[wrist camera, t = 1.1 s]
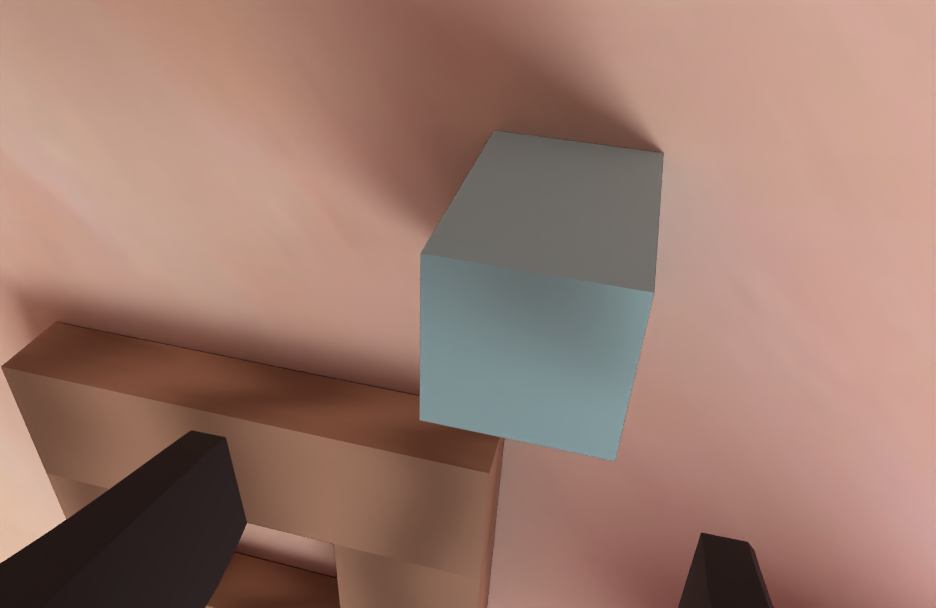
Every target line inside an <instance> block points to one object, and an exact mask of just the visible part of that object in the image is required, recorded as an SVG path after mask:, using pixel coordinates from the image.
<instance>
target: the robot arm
mask: <svg viewBox="0 0 936 608" xmlns="http://www.w3.org/2000/svg"><path fill="white" fill-rule="evenodd" d="M246 524H247V520H246V516H245V512H244V508H243V504H242V500H241V496H240V492H239V488H238V484H237V480H236V476H235V472H234V468H233V464H232V460H231V456H230V452H229V447H228V443H227V439H226V437H223V436H218V435H213V434H208V433H203V432H198V431H193V430H191V431H189V432H188V433H186V434H185V435H184V436H182V437H181V438H179V439H178V440H176V441H175V442H174V443H172V444H171V445H169V446H168V447H167V448H165V449H164V450H162V451H161V452H160V453H158V454H157V455H156V456H154V457H153V458H151V459H150V460H149V461H147V462H146V463H145V464H143V465H142V466H141V467H139V468H138V469H136V470H135V471H134V472H132V473H131V474H130V475H128V476H127V477H125V478H124V479H123V480H121V481H120V482H118V483H117V484H116V485H114V486H113V487H112V488H110V489H109V490H107V491H106V492H105V493H103V494H102V495H100V496H99V497H98V498H96V499H95V500H93V501H92V502H91V503H89V504H88V505H86V506H85V507H83V508H82V509H81V510H79V511H78V512H76V513H75V514H74V515H72V516H71V517H69V518H68V519H66V520H65V521H64V522H62V523H61V524H59V525H58V526H57V527H55V528H54V529H52V530H51V531H49V532H48V533H46V534H45V535H43V536H42V537H40V538H39V539H37V540H35V541H34V542H32V543H31V544H29V545H28V546H26V547H25V548H23V549H22V550H20V551H19V552H17V553H16V554H14V555H13V556H11V557H10V558H8V559H7V560H5V561H3V562H2V563H0V608H205V607H206V605H207V604H208V602H209V600H210V599H211V597H212V595H213V594H214V592H215V590H216V588H217V587H218V585H219V583H220V581H221V579H222V577H223V575H224V573H225V571H226V569H227V566H228V564H229V562H230V560H231V558H232V556H233V554H234V551H235V549H236V547H237V545H238V542H239V540H240V538H241V535H242V533H243V531H244V529H245V526H246ZM678 608H774V607H773V605H772V602H771V599H770V597H769V594H768V591H767V588H766V585H765V582H764V579H763V576H762V573H761V570H760V567H759V564H758V561H757V558H756V555H755V551H754V549H753V548H752V546H751V545H750V544H749V543H748V542H745V541H740V540H735V539H730V538H725V537H720V536H715V535H710V534H705V533H701V535H700V538H699V542H698V545H697V548H696V551H695V555H694V558H693V561H692V564H691V567H690V571H689V574H688V577H687V580H686V584H685V587H684V590H683V593H682V597H681V600H680V603H679V606H678Z"/></svg>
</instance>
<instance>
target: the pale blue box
mask: <svg viewBox="0 0 936 608" xmlns="http://www.w3.org/2000/svg"><path fill="white" fill-rule="evenodd" d="M663 157H664V153H659V152H652V151H644V150H637V149H629V148H622V147H615V146H607V145H600V144H592V143H585V142H577V141H570V140H562V139H555V138H548V137H540V136H533V135H525V134H518V133H510V132H503V131H495V130H494V132H493V133H492V135H491V137H490V138H489V140H488V142H487V143H486V145H485V147H484V148H483V150H482V152H481V153H480V155H479V157H478V158H477V160H476V162H475V163H474V165H473V167H472V168H471V170H470V172H469V173H468V175H467V177H466V178H465V180H464V182H463V183H462V185H461V187H460V188H459V190H458V192H457V193H456V195H455V197H454V198H453V200H452V202H451V203H450V205H449V207H448V208H447V210H446V212H445V213H444V215H443V217H442V218H441V220H440V222H439V223H438V225H437V227H436V228H435V230H434V232H433V233H432V235H431V237H430V238H429V240H428V242H427V243H426V245H425V247H424V248H423V250H422V252H421V278H420V420H422V421H426V422H431V423H436V424H441V425H445V426H450V427H455V428H459V429H464V430H469V431H474V432H478V433H483V434H488V435H493V436H497V437H502V438H507V439H511V440H516V441H521V442H526V443H530V444H535V445H540V446H545V447H549V448H554V449H559V450H563V451H568V452H573V453H578V454H582V455H587V456H592V457H597V458H601V459H606V460H611V461H615V460H616V455H617V451H618V447H619V442H620V438H621V434H622V430H623V425H624V421H625V417H626V412H627V408H628V404H629V399H630V395H631V391H632V386H633V382H634V378H635V374H636V369H637V365H638V361H639V356H640V352H641V348H642V343H643V339H644V335H645V330H646V326H647V322H648V318H649V313H650V309H651V305H652V300H653V296H654V289H655V275H656V260H657V245H658V230H659V216H660V201H661V186H662V171H663Z"/></svg>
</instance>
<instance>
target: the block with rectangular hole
mask: <svg viewBox="0 0 936 608" xmlns="http://www.w3.org/2000/svg"><path fill="white" fill-rule="evenodd" d="M1 368H2V370H3V372H4V375H5V377H6V379H7V382H8V384H9V386H10V389H11V391H12V393H13V396H14V398H15V400H16V403H17V405H18V407H19V410H20V412H21V414H22V417H23V419H24V421H25V424H26V426H27V428H28V431H29V433H30V435H31V438H32V440H33V442H34V445H35V447H36V449H37V452H38V454H39V456H40V459H41V461H42V463H43V466H44V468H45V470H46V473H47V475H48V477H49V480H50V482H51V484H52V487H53V489H54V491H55V494H56V496H57V499H58V501H59V503H60V506H61V508H62V510H63V513H64V515H65V517H66V519H68V518H69V517H71V516H72V515H74V514H75V513H76V512H78V511H79V510H81V509H82V508H83V507H85V506H86V505H88V504H89V503H91V502H92V501H93V500H95V499H96V498H98V497H99V496H100V495H102V494H103V493H105V492H106V491H107V490H109V489H110V488H112V487H113V486H114V485H116V484H117V483H118V482H120V481H121V480H123V479H124V478H125V477H127V476H128V475H130V474H131V473H132V472H134V471H135V470H136V469H138V468H139V467H141V466H142V465H143V464H145V463H146V462H147V461H149V460H150V459H151V458H153V457H154V456H156V455H157V454H158V453H160V452H161V451H162V450H164V449H165V448H167V447H168V446H169V445H171V444H172V443H174V442H175V441H176V440H178V439H179V438H181V437H182V436H184V435H185V434H186V433H188V432H189V431H191V430H193V431H198V432H203V433H208V434H213V435H218V436H223V437H226V439H227V443H228V447H229V452H230V456H231V460H232V464H233V468H234V472H235V476H236V480H237V484H238V488H239V492H240V496H241V500H242V504H243V508H244V512H245V516H246V520H247V523H250V524H254V525H259V526H263V527H267V528H271V529H275V530H279V531H283V532H287V533H291V534H295V535H299V536H303V537H307V538H311V539H316V540H320V541H324V542H328V543H332V544H334V551H335V560H336V570H337V578H333V577H329V576H325V575H322V574H318V573H314V572H310V571H306V570H302V569H298V568H294V567H290V566H286V565H282V564H278V563H274V562H270V561H266V560H263V559H259V558H255V557H251V556H247V555H243V554H239V553H235V552H234V554H233V556H232V558H231V560H230V562H229V564H228V566H227V569H226V571H225V573H224V575H223V577H222V579H221V581H220V583H219V585H218V587H217V588H216V590H215V592H214V594H213V595H212V597H211V599H210V600H209V602H208V604H207V605H206V607H205V608H487V604H488V594H489V584H490V574H491V564H492V554H493V545H494V535H495V525H496V515H497V505H498V496H499V486H500V476H501V466H502V456H503V447H504V438H502V437H497V436H493V435H488V434H483V433H478V432H474V431H469V430H464V429H459V428H455V427H450V426H445V425H441V424H436V423H431V422H426V421H422V420H420V396H417V395H412V394H407V393H402V392H397V391H392V390H387V389H382V388H377V387H373V386H368V385H363V384H358V383H353V382H348V381H343V380H338V379H333V378H328V377H323V376H318V375H313V374H309V373H304V372H299V371H294V370H289V369H284V368H279V367H274V366H269V365H264V364H259V363H254V362H249V361H245V360H240V359H235V358H230V357H225V356H220V355H215V354H210V353H205V352H200V351H195V350H190V349H186V348H181V347H176V346H171V345H166V344H161V343H156V342H151V341H146V340H141V339H136V338H131V337H126V336H122V335H117V334H112V333H107V332H102V331H97V330H92V329H87V328H82V327H77V326H72V325H67V324H63V323H58V322H55V323H54V324H53V325H52V326H50V327H49V328H48V329H47V330H45V331H44V332H43V333H42V334H41V335H39V336H38V337H37V338H36V339H34V340H33V341H32V342H31V343H29V344H28V345H27V346H26V347H25V348H23V349H22V350H21V351H20V352H18V353H17V354H16V355H15V356H14V357H12V358H11V359H10V360H9V361H7V362H6V363H5V364H4V365H2V366H1Z"/></svg>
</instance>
